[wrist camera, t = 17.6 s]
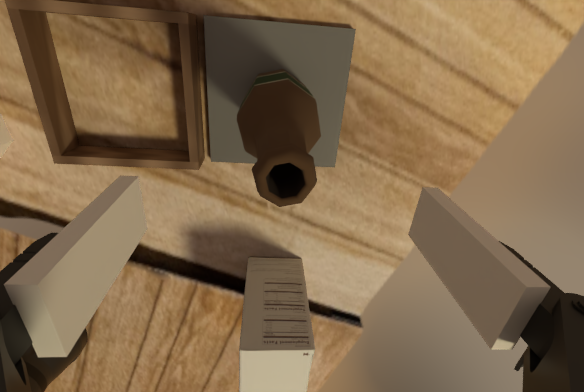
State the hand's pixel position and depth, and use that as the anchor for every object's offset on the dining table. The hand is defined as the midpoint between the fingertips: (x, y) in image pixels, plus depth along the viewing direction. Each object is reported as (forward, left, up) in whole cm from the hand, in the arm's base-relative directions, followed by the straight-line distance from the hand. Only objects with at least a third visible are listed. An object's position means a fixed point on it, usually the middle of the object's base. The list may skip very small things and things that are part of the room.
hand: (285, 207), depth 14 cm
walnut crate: (-18, 0, -28) cm, 33 cm away
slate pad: (0, 0, -28) cm, 28 cm away
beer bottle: (0, 0, -27) cm, 27 cm away
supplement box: (+1, -30, -28) cm, 41 cm away
